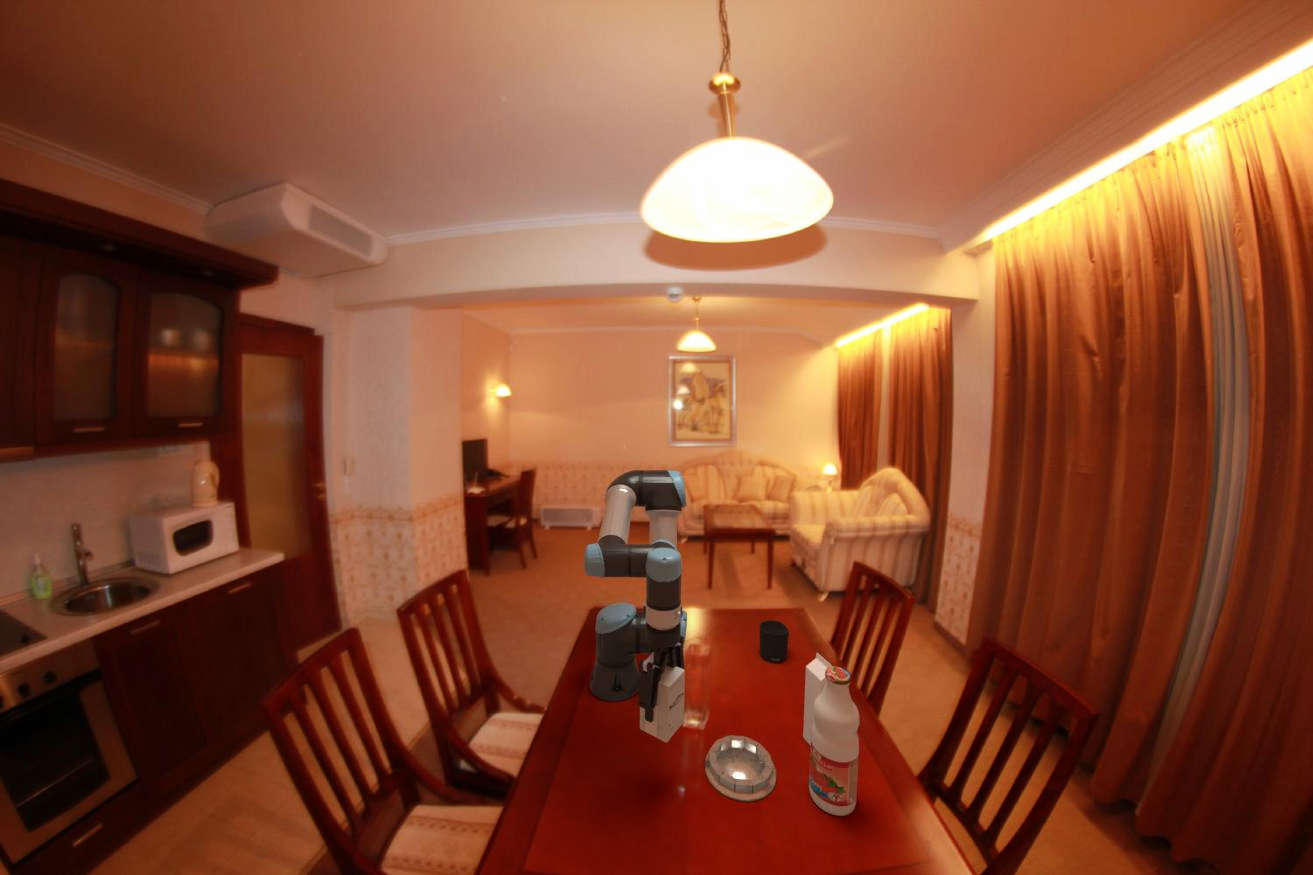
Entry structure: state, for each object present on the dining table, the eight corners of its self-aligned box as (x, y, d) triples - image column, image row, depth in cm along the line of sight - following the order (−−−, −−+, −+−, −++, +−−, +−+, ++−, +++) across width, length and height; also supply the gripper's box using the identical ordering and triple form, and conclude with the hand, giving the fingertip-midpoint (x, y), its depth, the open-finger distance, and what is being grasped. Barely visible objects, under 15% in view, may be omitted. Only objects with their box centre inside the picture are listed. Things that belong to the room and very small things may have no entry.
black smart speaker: (753, 656, 147) (754, 627, 146) (766, 645, 154) (767, 617, 153) (780, 668, 141) (781, 637, 140) (792, 655, 148) (793, 626, 147)
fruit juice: (866, 811, 91) (873, 683, 89) (826, 822, 89) (832, 690, 87) (836, 774, 100) (842, 656, 98) (800, 783, 98) (804, 662, 96)
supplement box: (667, 744, 92) (667, 687, 91) (638, 729, 96) (639, 674, 95) (685, 722, 98) (686, 669, 97) (657, 709, 103) (658, 657, 101)
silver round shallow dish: (692, 777, 99) (692, 765, 99) (723, 733, 112) (724, 723, 112) (760, 815, 90) (760, 802, 90) (785, 763, 103) (786, 752, 103)
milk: (817, 755, 106) (821, 668, 104) (802, 737, 112) (805, 653, 110) (839, 749, 108) (842, 663, 106) (823, 732, 113) (826, 650, 111)
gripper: (650, 649, 85) (649, 759, 87) (701, 608, 101) (699, 702, 103) (619, 637, 89) (619, 742, 91) (673, 599, 106) (672, 689, 108)
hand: (662, 720), depth 97 cm, fingers closed on supplement box, 7 cm apart
